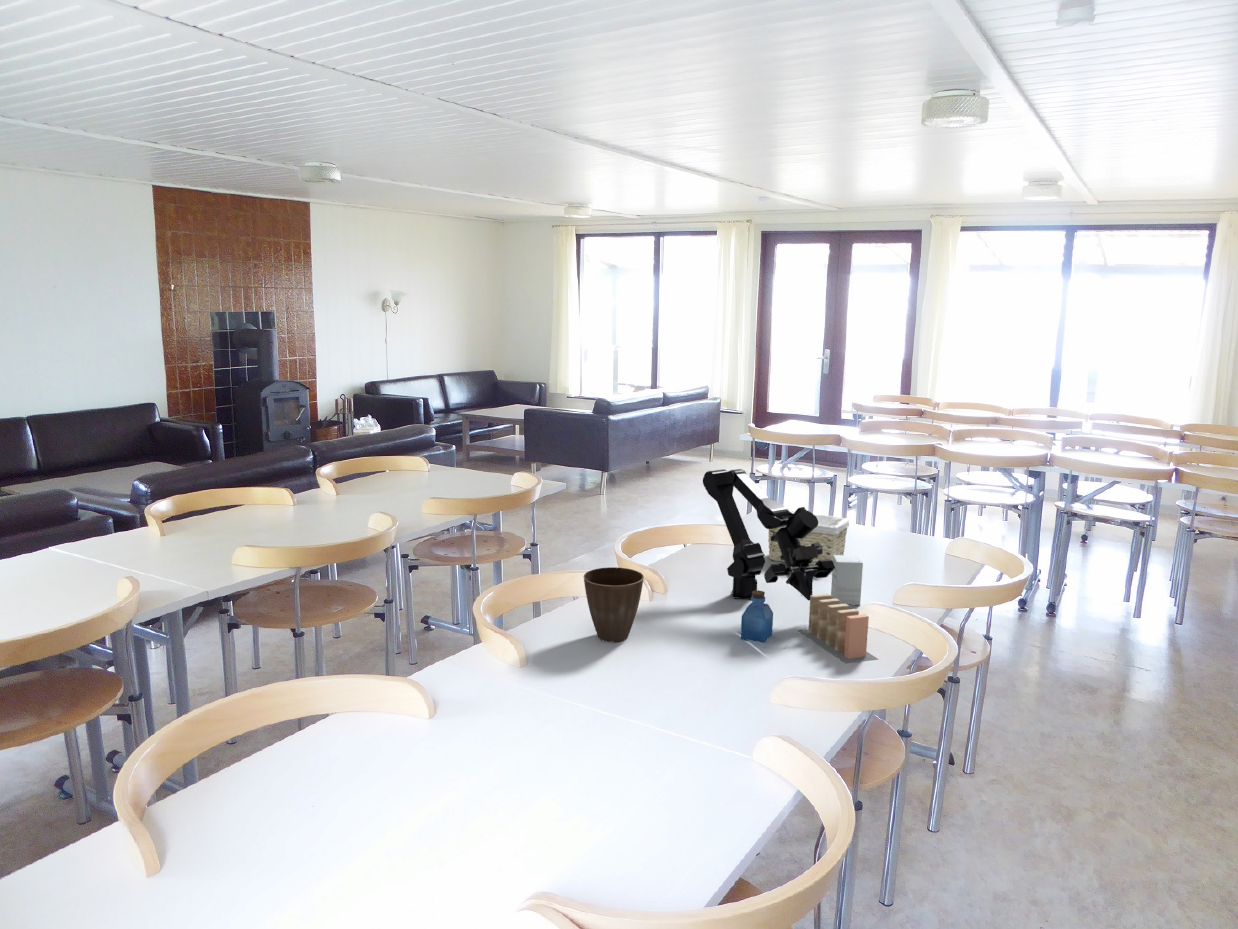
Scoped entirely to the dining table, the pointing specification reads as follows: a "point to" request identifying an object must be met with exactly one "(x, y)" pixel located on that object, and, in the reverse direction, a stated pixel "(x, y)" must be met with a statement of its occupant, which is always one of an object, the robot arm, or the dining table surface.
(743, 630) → the perfume bottle
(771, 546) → the storage basket
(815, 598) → the domino
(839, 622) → the domino
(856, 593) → the supplement box
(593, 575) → the plant pot
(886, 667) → the dining table surface
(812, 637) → the mat
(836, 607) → the domino
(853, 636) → the domino
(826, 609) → the domino
